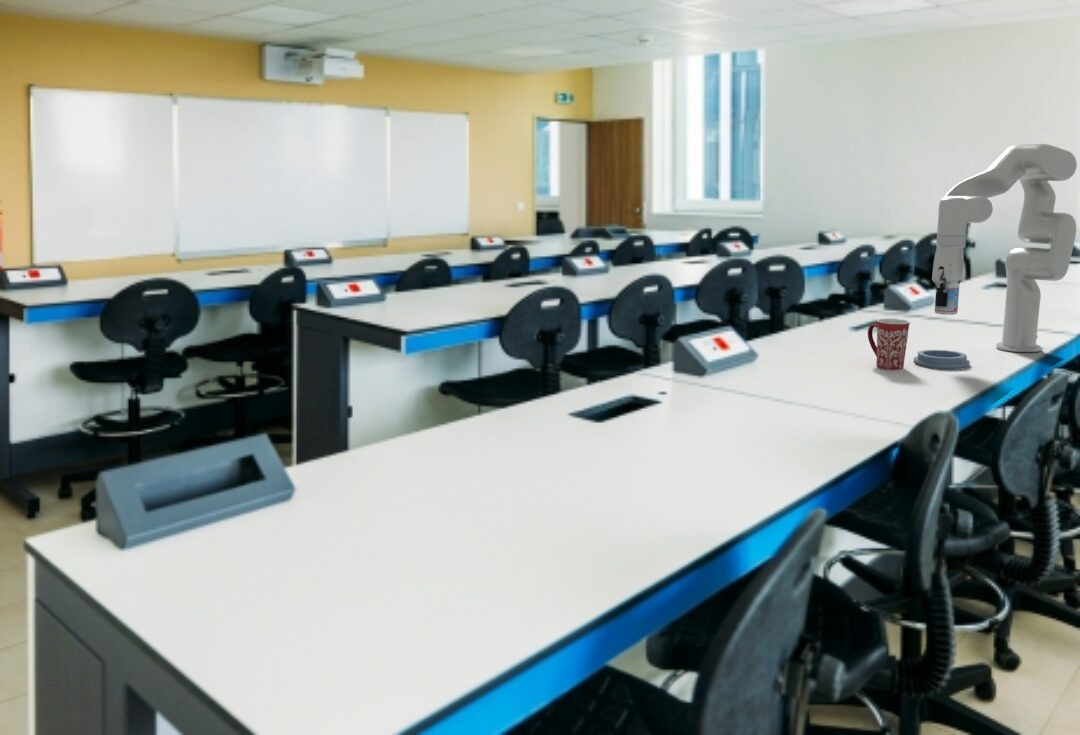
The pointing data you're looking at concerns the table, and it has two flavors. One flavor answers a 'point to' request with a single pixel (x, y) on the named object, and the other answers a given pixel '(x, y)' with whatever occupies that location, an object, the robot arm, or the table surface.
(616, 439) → the table surface
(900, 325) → the mug
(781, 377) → the table surface
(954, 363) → the round tray
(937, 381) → the table surface
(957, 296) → the pill bottle
